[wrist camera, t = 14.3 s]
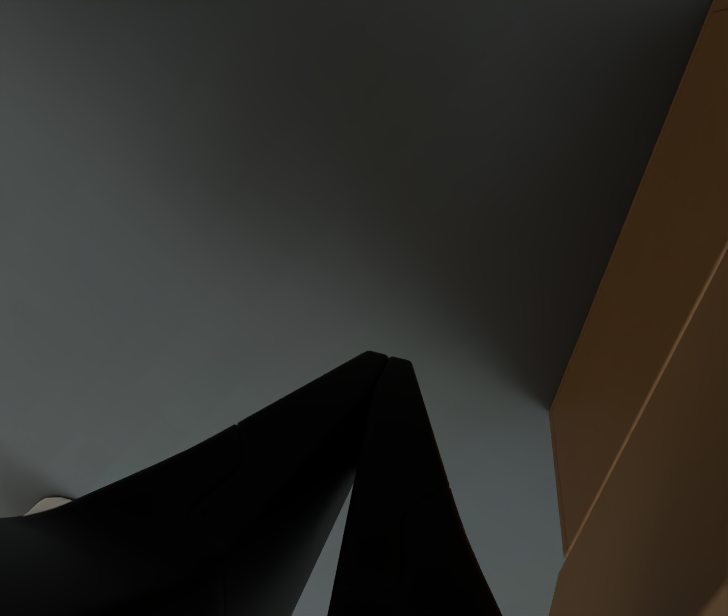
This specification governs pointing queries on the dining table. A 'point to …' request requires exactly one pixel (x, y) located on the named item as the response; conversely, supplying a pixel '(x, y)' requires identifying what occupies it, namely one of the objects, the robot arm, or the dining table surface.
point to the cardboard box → (647, 282)
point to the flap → (665, 492)
